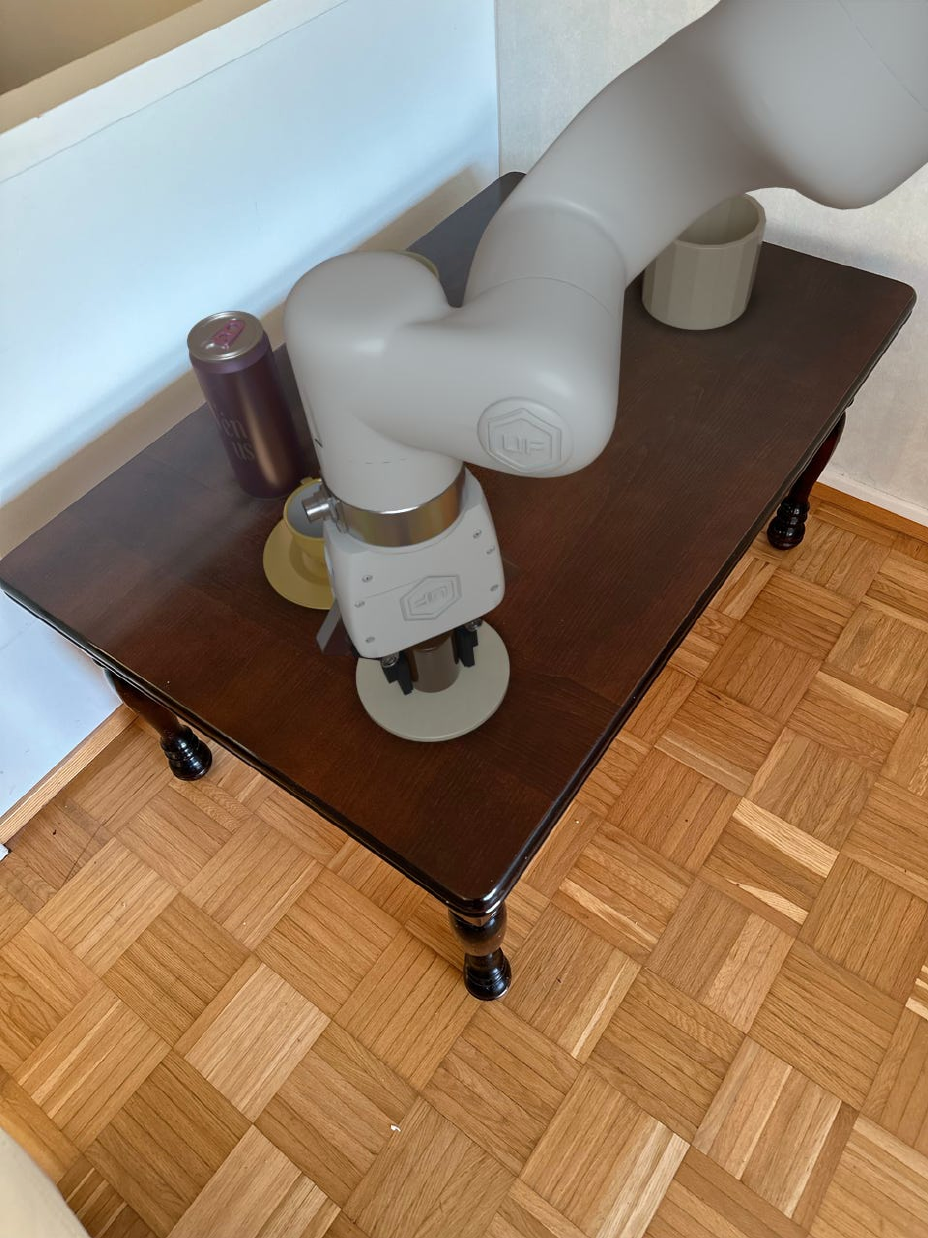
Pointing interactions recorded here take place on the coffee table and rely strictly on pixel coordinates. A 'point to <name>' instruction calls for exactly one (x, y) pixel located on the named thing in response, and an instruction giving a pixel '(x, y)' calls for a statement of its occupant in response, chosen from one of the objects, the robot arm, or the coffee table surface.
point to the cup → (299, 553)
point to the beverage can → (248, 403)
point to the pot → (707, 268)
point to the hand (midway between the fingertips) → (431, 663)
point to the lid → (438, 688)
